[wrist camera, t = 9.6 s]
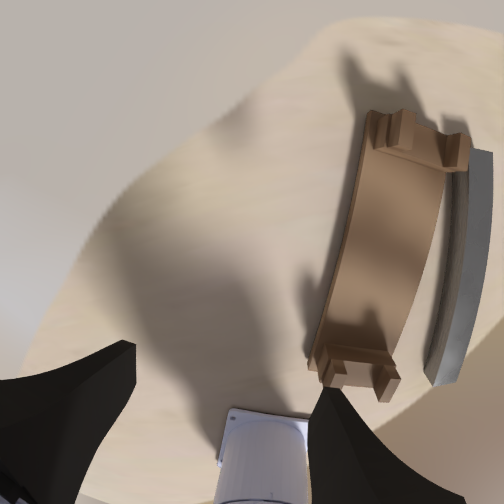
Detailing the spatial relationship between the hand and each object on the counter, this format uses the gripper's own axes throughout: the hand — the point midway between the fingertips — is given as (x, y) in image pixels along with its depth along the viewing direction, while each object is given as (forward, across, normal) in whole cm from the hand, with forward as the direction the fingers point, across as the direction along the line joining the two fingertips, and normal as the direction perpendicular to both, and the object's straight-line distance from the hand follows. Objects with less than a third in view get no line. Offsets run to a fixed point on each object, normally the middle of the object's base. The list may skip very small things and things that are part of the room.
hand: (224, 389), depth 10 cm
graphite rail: (+11, -15, -4) cm, 19 cm away
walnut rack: (+10, -8, -4) cm, 14 cm away
